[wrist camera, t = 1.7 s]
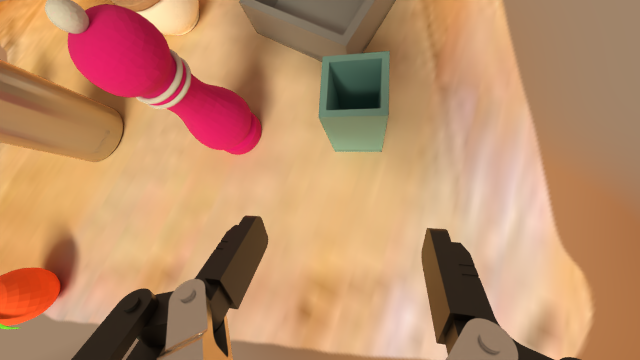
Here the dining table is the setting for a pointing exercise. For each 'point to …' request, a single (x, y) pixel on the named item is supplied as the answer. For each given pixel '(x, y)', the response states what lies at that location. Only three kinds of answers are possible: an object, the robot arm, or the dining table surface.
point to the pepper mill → (152, 73)
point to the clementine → (26, 295)
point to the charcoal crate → (318, 23)
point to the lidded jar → (166, 14)
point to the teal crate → (355, 100)
